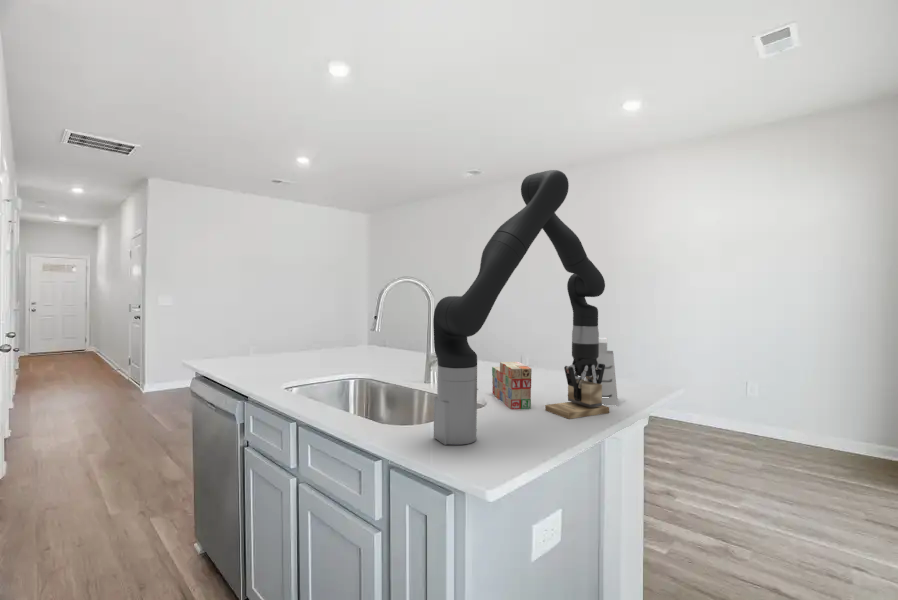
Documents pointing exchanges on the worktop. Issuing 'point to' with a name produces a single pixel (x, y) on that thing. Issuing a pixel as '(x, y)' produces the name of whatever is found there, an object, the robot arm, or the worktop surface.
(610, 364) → the grater
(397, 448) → the worktop surface
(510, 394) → the stack of blocks
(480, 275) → the robot arm
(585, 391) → the block
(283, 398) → the worktop surface
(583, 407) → the board
